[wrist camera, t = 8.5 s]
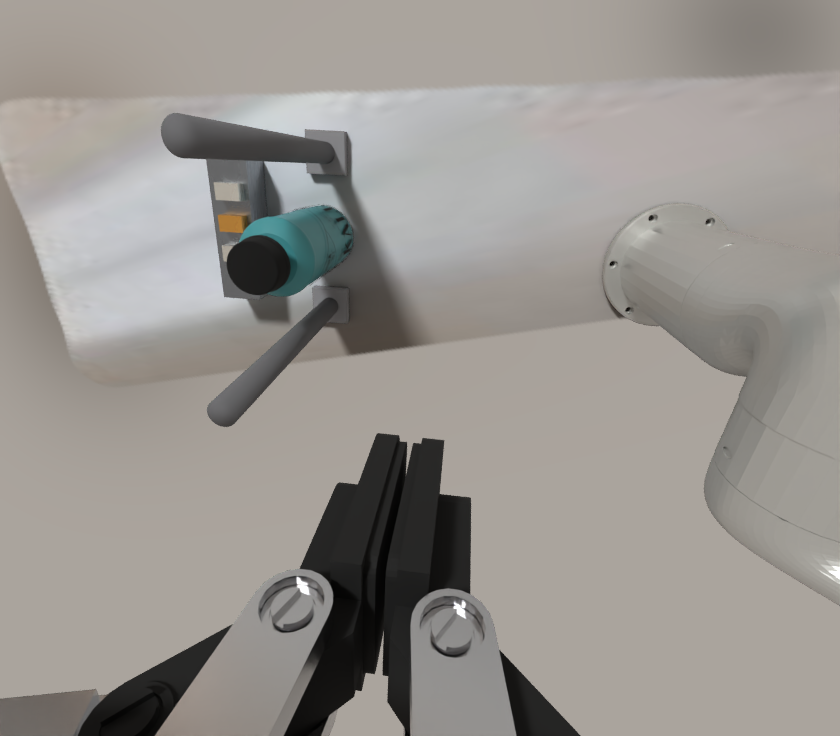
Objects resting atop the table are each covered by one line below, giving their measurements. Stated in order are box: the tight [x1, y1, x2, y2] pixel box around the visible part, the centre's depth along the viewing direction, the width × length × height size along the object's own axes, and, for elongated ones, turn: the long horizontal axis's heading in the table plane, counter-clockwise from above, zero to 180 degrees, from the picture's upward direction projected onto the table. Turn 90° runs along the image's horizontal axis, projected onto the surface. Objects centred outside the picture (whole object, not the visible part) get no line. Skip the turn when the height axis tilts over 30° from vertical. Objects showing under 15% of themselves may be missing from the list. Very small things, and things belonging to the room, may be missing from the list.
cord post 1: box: [161, 113, 347, 175], centre depth 34 cm, size 4×4×26 cm
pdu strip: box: [206, 159, 268, 300], centre depth 47 cm, size 4×14×5 cm, turn 177°
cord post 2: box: [207, 286, 349, 427], centre depth 41 cm, size 4×4×26 cm
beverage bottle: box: [226, 204, 354, 297], centre depth 40 cm, size 6×7×20 cm
